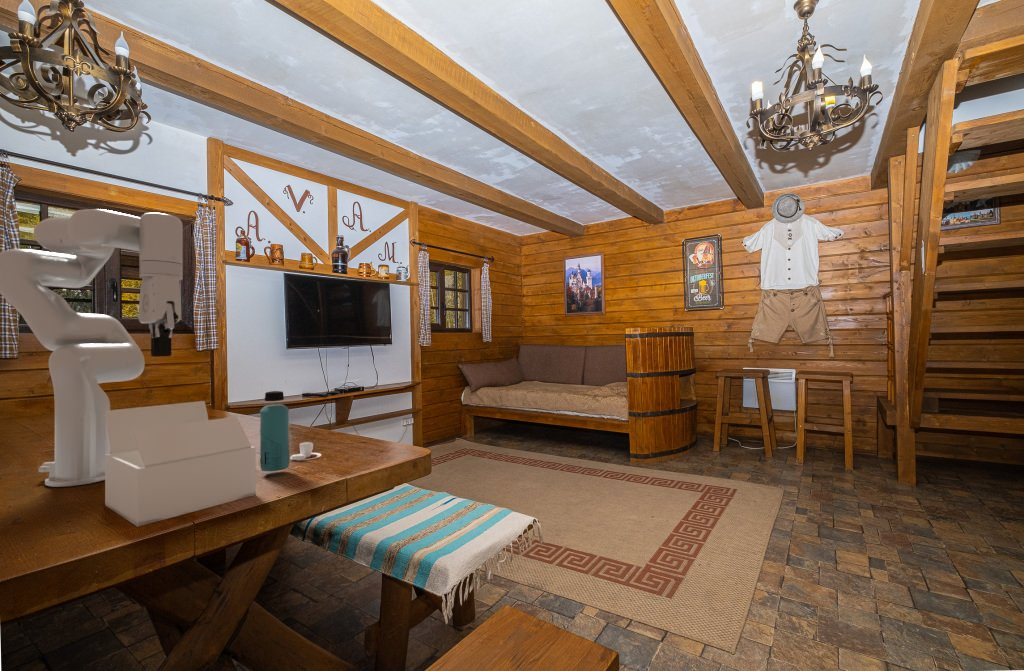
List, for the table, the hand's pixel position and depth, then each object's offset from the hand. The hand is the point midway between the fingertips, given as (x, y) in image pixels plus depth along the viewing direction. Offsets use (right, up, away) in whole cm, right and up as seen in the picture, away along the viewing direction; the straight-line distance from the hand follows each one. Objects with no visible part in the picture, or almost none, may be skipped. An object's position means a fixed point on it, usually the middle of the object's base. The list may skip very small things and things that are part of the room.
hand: (161, 356), depth 101 cm
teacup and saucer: (+16, -30, +27) cm, 43 cm away
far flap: (+1, -15, 0) cm, 15 cm away
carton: (+9, -29, -7) cm, 31 cm away
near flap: (+14, -16, -10) cm, 24 cm away
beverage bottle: (+19, -29, +11) cm, 37 cm away
